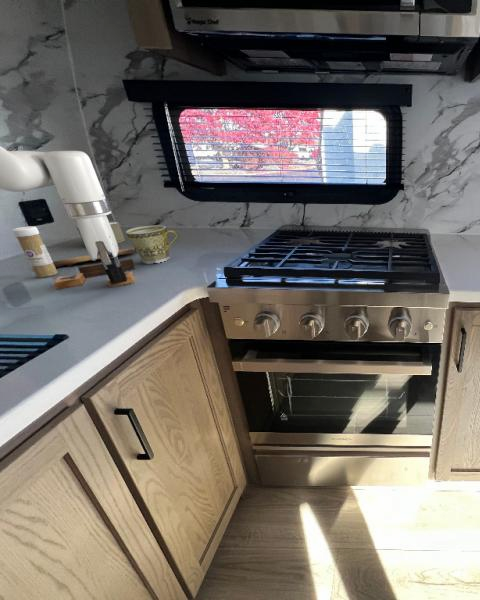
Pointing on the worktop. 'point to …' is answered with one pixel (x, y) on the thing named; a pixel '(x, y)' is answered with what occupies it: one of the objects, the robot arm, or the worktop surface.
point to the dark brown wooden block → (100, 269)
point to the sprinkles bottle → (35, 251)
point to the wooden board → (86, 258)
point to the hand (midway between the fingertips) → (119, 281)
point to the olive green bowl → (114, 231)
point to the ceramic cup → (151, 243)
